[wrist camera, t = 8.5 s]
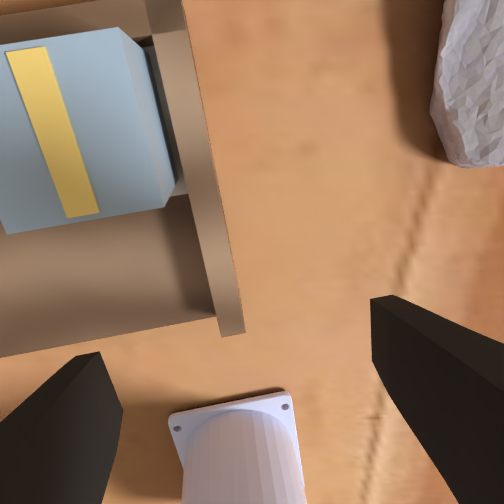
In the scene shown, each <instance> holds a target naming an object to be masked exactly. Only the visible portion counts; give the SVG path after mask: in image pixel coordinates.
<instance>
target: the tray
mask: <svg viewBox="0 0 504 504" xmlns="http://www.w3.org/2000/svg"><path fill="white" fill-rule="evenodd" d="M115 27H119V28H120V29H121V30H122V31H123V32H124V33H125V34H127V35H128V36H129V37H130V38H131V39H132V40H133V41H134V42H135V43H136V44H138V45H139V46H140V47H141V48H142V49H143V50H144V51H145V52H146V53H147V54H149V55H150V59H151V64H152V68H153V72H154V77H155V81H156V85H157V90H158V94H159V98H160V103H161V107H162V111H163V115H164V120H165V124H166V128H167V133H168V137H169V141H170V146H171V150H172V154H173V159H174V163H175V167H176V172H177V176H178V181H177V183H176V185H175V187H174V189H173V191H172V193H171V195H170V197H169V199H168V201H167V203H166V205H165V207H163V208H157V209H151V210H145V211H140V212H134V213H128V214H123V215H117V216H111V217H105V218H100V219H94V220H88V221H82V222H77V223H71V224H65V225H59V226H54V227H48V228H42V229H36V230H31V231H25V232H19V233H13V234H8V235H7V234H6V231H5V229H4V227H3V225H2V222H1V220H0V358H2V357H7V356H12V355H18V354H23V353H28V352H33V351H38V350H44V349H49V348H54V347H59V346H64V345H70V344H75V343H80V342H85V341H91V340H96V339H101V338H106V337H111V336H117V335H122V334H127V333H132V332H137V331H143V330H148V329H153V328H158V327H163V326H169V325H174V324H179V323H184V322H189V321H195V320H200V319H205V318H210V317H215V316H217V321H218V325H219V329H220V334H221V338H222V337H227V336H232V335H237V334H242V333H246V331H245V325H244V318H243V312H242V305H241V299H240V294H239V288H238V283H237V278H236V273H235V268H234V263H233V258H232V252H231V247H230V242H229V237H228V232H227V227H226V222H225V216H224V211H223V206H222V201H221V196H220V191H219V185H218V180H217V175H216V170H215V165H214V160H213V155H212V149H211V144H210V139H209V134H208V129H207V124H206V119H205V113H204V108H203V103H202V98H201V93H200V88H199V83H198V77H197V72H196V67H195V62H194V57H193V52H192V47H191V41H190V36H189V31H188V26H187V21H186V16H185V11H184V8H183V4H182V0H97V1H91V2H84V3H78V4H71V5H65V6H58V7H52V8H45V9H39V10H33V11H26V12H20V13H13V14H7V15H0V45H4V44H10V43H17V42H24V41H30V40H37V39H43V38H50V37H56V36H63V35H69V34H76V33H83V32H89V31H96V30H102V29H109V28H115Z"/></svg>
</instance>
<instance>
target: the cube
mask: <svg viewBox="0 0 504 504" xmlns="http://www.w3.org/2000/svg"><path fill="white" fill-rule="evenodd" d="M177 181H178V176H177V172H176V167H175V163H174V159H173V154H172V150H171V146H170V141H169V137H168V133H167V128H166V124H165V120H164V115H163V111H162V107H161V103H160V98H159V94H158V90H157V85H156V81H155V77H154V72H153V68H152V64H151V59H150V55H149V54H147V53H146V52H145V51H144V50H143V49H142V48H141V47H140V46H139V45H138V44H136V43H135V42H134V41H133V40H132V39H131V38H130V37H129V36H128V35H127V34H125V33H124V32H123V31H122V30H121V29H120V28H119V27H115V28H109V29H102V30H96V31H89V32H83V33H76V34H69V35H63V36H56V37H50V38H43V39H37V40H30V41H24V42H17V43H10V44H4V45H0V220H1V222H2V225H3V227H4V229H5V231H6V234H7V235H8V234H13V233H19V232H25V231H31V230H36V229H42V228H48V227H54V226H59V225H65V224H71V223H77V222H82V221H88V220H94V219H100V218H105V217H111V216H117V215H123V214H128V213H134V212H140V211H145V210H151V209H157V208H163V207H165V205H166V203H167V201H168V199H169V197H170V195H171V193H172V191H173V189H174V187H175V185H176V183H177Z"/></svg>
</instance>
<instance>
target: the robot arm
mask: <svg viewBox="0 0 504 504" xmlns="http://www.w3.org/2000/svg"><path fill="white" fill-rule="evenodd" d="M370 311H371V344H372V362H373V364H374V366H375V368H376V370H377V372H378V374H379V376H380V378H381V380H382V382H383V384H384V386H385V388H386V390H387V392H388V394H389V396H390V397H391V399H392V400H393V402H394V404H395V405H396V407H397V408H398V410H399V411H400V413H401V414H402V416H403V417H404V419H405V420H406V422H407V424H408V425H409V427H410V428H411V430H412V431H413V433H414V434H415V436H416V437H417V439H418V440H419V442H420V443H421V445H422V446H423V448H424V449H425V451H426V452H427V454H428V455H429V457H430V458H431V460H432V461H433V463H434V464H435V466H436V467H437V469H438V471H439V472H440V474H441V475H442V477H443V478H444V480H445V481H446V483H447V485H448V486H449V488H450V490H451V491H452V493H453V495H454V496H455V498H456V500H457V501H458V503H459V504H504V344H503V343H501V342H498V341H496V340H493V339H491V338H488V337H486V336H484V335H481V334H479V333H477V332H474V331H472V330H470V329H468V328H465V327H463V326H461V325H459V324H456V323H454V322H452V321H450V320H448V319H445V318H443V317H441V316H439V315H437V314H435V313H433V312H430V311H428V310H426V309H424V308H422V307H420V306H418V305H415V304H413V303H411V302H409V301H407V300H404V299H402V298H400V297H397V296H394V295H389V296H383V297H378V298H373V299H370ZM283 404H286V405H283ZM122 414H123V409H122V407H121V404H120V402H119V399H118V397H117V394H116V392H115V389H114V386H113V384H112V381H111V379H110V376H109V374H108V371H107V369H106V366H105V364H104V361H103V359H102V356H101V354H100V351H99V352H94V353H89V354H84V355H79V356H75V357H74V358H73V359H71V360H70V361H69V362H68V363H66V364H65V365H64V366H63V367H62V368H61V369H59V370H58V371H57V372H56V373H55V374H54V375H53V376H51V377H50V378H49V379H48V380H47V381H46V382H45V383H44V384H43V385H41V386H40V387H39V388H38V389H37V390H36V391H35V392H34V393H33V394H31V395H30V396H29V397H28V398H27V399H26V400H25V401H24V402H23V403H21V404H20V405H19V406H18V407H17V408H16V409H15V410H14V411H13V412H11V413H10V414H9V415H8V416H7V417H6V418H5V419H4V420H3V421H1V422H0V504H101V503H102V500H103V496H104V493H105V490H106V486H107V483H108V479H109V476H110V472H111V469H112V465H113V462H114V458H115V455H116V451H117V446H118V440H119V434H120V428H121V421H122ZM168 426H169V429H170V432H171V435H172V438H173V441H174V444H175V447H176V450H177V452H178V455H179V458H180V461H181V464H182V467H183V470H184V475H183V487H182V500H181V504H307V500H306V496H305V492H304V487H305V486H304V479H303V472H302V465H301V459H300V452H299V445H298V438H297V432H296V425H295V418H294V412H293V405H292V399H291V395H290V393H289V392H286V391H281V392H276V393H271V394H266V395H261V396H256V397H252V398H247V399H242V400H237V401H232V402H227V403H222V404H217V405H212V406H207V407H202V408H197V409H192V410H187V411H182V412H177V413H173V414H171V415H170V416H169V418H168ZM176 426H180V427H176Z"/></svg>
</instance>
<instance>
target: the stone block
mask: <svg viewBox="0 0 504 504" xmlns="http://www.w3.org/2000/svg"><path fill="white" fill-rule="evenodd" d="M441 19H442V28H441V31H440V35H439V48H438V56H437V61H436V65H435V74H434V86H433V92H432V96H431V100H430V111H429V113H430V116H431V117H432V119H433V121H434V124H435V126H436V128H437V132H438V135H439V138H440V140H441V142H442V144H443V147H444V150H445V152H446V155H447V158H448V160H449V162H450V163H452V164H454V165H455V166H458V167H461V168H483V167H493V166H494V167H495V166H503V165H504V0H445V2H444V4H443V13H442V17H441Z"/></svg>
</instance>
